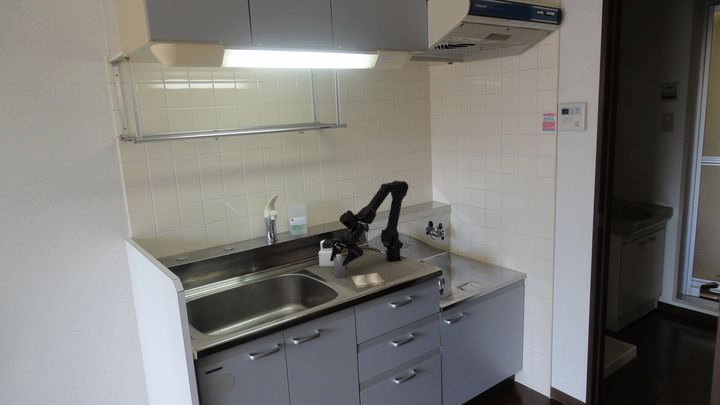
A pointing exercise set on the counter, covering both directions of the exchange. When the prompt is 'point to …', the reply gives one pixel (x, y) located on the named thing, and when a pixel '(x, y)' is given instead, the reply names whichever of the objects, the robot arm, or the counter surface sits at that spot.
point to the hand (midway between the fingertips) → (336, 263)
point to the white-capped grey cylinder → (339, 266)
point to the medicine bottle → (325, 253)
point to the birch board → (367, 280)
